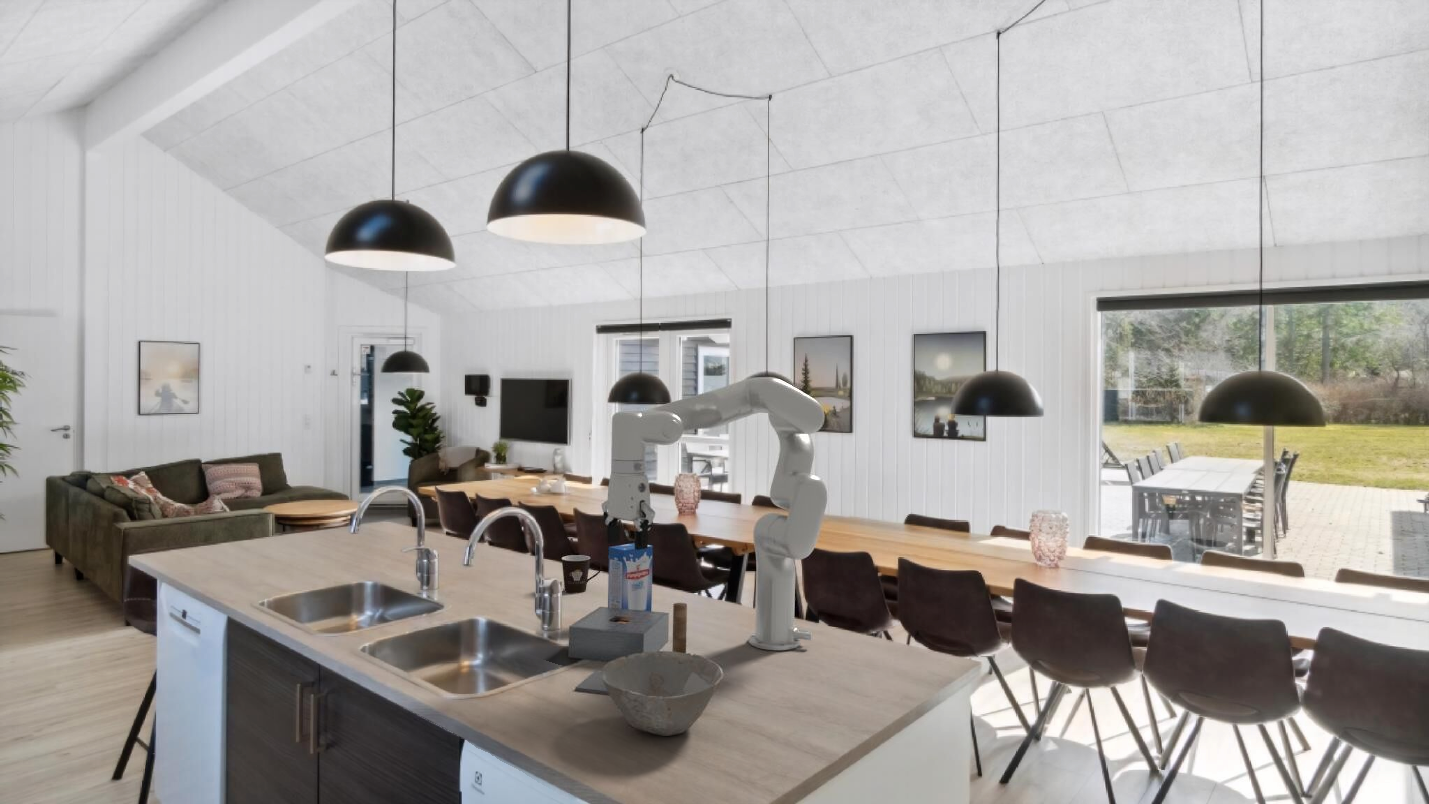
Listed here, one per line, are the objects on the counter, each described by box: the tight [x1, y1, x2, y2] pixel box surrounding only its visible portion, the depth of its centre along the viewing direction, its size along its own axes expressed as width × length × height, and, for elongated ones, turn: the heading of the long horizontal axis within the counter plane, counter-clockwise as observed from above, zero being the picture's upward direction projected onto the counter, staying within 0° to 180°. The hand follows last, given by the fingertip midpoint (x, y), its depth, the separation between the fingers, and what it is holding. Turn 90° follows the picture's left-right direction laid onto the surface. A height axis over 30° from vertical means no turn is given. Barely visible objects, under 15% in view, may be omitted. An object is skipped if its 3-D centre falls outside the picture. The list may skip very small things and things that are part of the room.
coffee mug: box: [561, 554, 603, 594], centre depth 238 cm, size 12×9×10 cm
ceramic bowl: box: [600, 650, 724, 737], centre depth 141 cm, size 22×23×10 cm
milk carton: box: [607, 542, 654, 611], centre depth 207 cm, size 10×6×20 cm, turn 136°
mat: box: [575, 670, 610, 696], centre depth 161 cm, size 10×10×1 cm
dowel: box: [671, 602, 688, 654], centre depth 172 cm, size 3×3×14 cm
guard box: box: [568, 606, 670, 663], centre depth 184 cm, size 18×18×7 cm
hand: (626, 545), depth 171 cm, fingers open, 9 cm apart
